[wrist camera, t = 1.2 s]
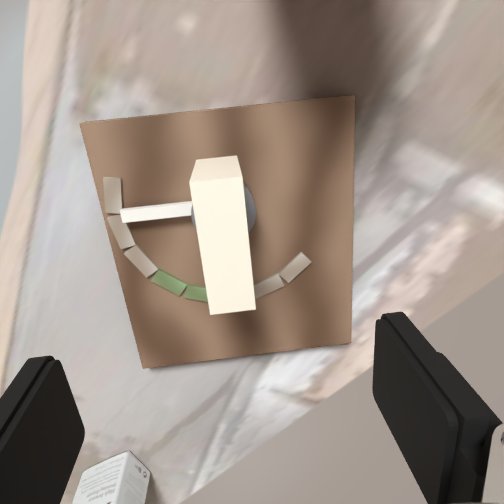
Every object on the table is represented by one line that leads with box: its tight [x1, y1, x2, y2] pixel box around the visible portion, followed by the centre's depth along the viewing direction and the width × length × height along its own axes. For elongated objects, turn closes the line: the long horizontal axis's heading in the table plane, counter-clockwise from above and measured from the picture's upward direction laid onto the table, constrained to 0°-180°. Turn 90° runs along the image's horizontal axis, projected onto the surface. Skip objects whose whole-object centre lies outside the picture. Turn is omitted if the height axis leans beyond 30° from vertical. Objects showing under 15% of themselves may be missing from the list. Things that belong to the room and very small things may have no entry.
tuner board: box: [80, 95, 355, 369], centre depth 31 cm, size 19×21×2 cm
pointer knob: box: [120, 155, 256, 315], centre depth 24 cm, size 10×8×9 cm
